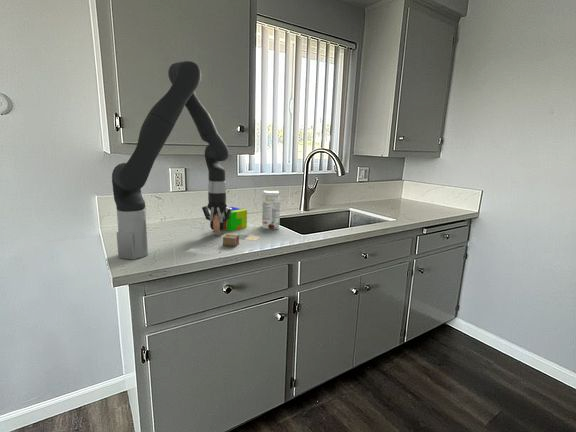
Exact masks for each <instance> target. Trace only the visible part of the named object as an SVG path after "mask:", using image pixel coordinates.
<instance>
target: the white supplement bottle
mask: <svg viewBox="0 0 576 432" xmlns="http://www.w3.org/2000/svg"><path fill="white" fill-rule="evenodd" d="M261 210H262V212H261V213H262V215H261V225H262V228H263V229H264V230H265V229H266V230H267V229H270V230H272V229H273V230H276V229H277V230H278V229H279V227H280V218H281V217H280V216H281V215H280V211H281V195H280V192H279V190H263V194H262V209H261Z"/></svg>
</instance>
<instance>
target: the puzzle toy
mask: <svg viewBox="0 0 576 432" xmlns="http://www.w3.org/2000/svg"><path fill="white" fill-rule="evenodd" d="M229 208H232V209H233V210H232V213H231V215H230V218H229V220H227V221H225V222H224V224H225V225H224V226H225V228H224V229H223V230H226V231H229V232H234V231H239V230H242V229H246V228H247V227H248V210H247V209H243V208H239V207H234V206H231V207H229ZM226 214H227V212H226V210H225V211H224V217H225V216H226Z"/></svg>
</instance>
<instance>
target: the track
mask: <svg viewBox="0 0 576 432" xmlns="http://www.w3.org/2000/svg"><path fill="white" fill-rule="evenodd" d="M227 234H232V235H239V240H246V241H254V242H255V241H256V242H257V241H258V240H259V239H260V238H261V237H262V236H258V235H250V234H249V235H248V234H238V233H227V232H213V233H212V234H209V237H214V238H215V237H216V238H223V237H224V236H226V235H227Z"/></svg>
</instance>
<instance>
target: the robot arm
mask: <svg viewBox="0 0 576 432" xmlns="http://www.w3.org/2000/svg"><path fill="white" fill-rule="evenodd" d="M167 72H168V79H169V81H170V83H171V86H170V88H169V90H167V92H166V93H165V94H164V95H163V96H162V97H161V98H160V99H159V100H158V101H157V102H156V103H155V104H154V105H153V106H152V107H151V109H150V110H149V111H148V113H147V115H146V117H145V118H144V120H143V122H142V125H141V127H140V130H139V134H138V140H137V144H136V147H135V148H134V151H133V152H132V154H131V156H130V157H129V159H128V160H127V162H122V163H118V164H117V165H116V166H114V168H113V170H112V174H111V182H112V192H113V200H114V203H115V205H116V217H117V218H116V219H117V230H118V231H117V232H116V241H117V243H116V244H117V245H116V246H117V253H118V254H117V256H118V258H119V259H125V260H135V259H141V258H144V257H146V256H148V255H149V247H148V245H149V244H148V231H147V216H146V215H147V212H146V201H145V199H144V198H143V195H142V191H141V190H142V188H143V187H144V186H145V185H146V182H147V181H148V178H149V176H150V173H151V171H152V168H153V166H154V163H155V161H156V159H157V157H158V155H159V154H160V153H161V150H162V148H163V147H164V145H165V143H166V142H167V140H168V138H169V136H170V135H171V133H172V131H173V129H174V127H175V125H176V122H177V121H178V119H179V118H180V116H181V113H182V112H183V111H184V108H185V107H186V109H187V111H188V112H189V113H188V114H189V115H190V117H191V119H192V120H193V123H194V125H195V128H196V129H197V132H198V133H199V136H200V138H201V140H202V141H203V142H206V143H207V144H208V145H206V147H205V149H204V159H205V164H206V167H207V170H208V183H207V193H208V194H207V196H208V197H207V199H208V203H207V205H204V206H203V207H201V209H202V212H203V215H204V217H205V220H206V221H207V220H208V221H209V222H210V223H209V228H210V229H211V231H213V218H214V216H215V215H216V214H218V215H219V218H220V231H221V232H223V230H225V229H224V228H225V226H224V225H225V224H224V222H225V221H227V220H229V218H230V215H231V213H232V210H233V209H232V208H230V207H228V205H227V183H226V169H225V168H224V167H223V166H222V165H220V162H225V161H226V160H227V159H229V155H230V154H229V153H230V152H229V147H228V146H227V144H226V142H225V141H224V140H223V138H222V136H221V135H220V134H219V133H218V129H217V127H216V125H215V123H214V120H213V119H212V117H211V115H210V113H209V111H208V110H207V109H206V108H205V106H204V105H203V103H202V102H201V101H200V100H199V97H198V96H197V94H196V90H197V88H198V86H199V85H200V83H201V80H202V72H201V68H200V67H199V65H198V64H197V63H195V62H194V61H190V60H185V61H178V62H174V63H172V64H171V65H170V66H169V68H168V70H167ZM225 210H226V212H227V214H226V216H225V217H224V211H225ZM209 211H210V212H209Z"/></svg>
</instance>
